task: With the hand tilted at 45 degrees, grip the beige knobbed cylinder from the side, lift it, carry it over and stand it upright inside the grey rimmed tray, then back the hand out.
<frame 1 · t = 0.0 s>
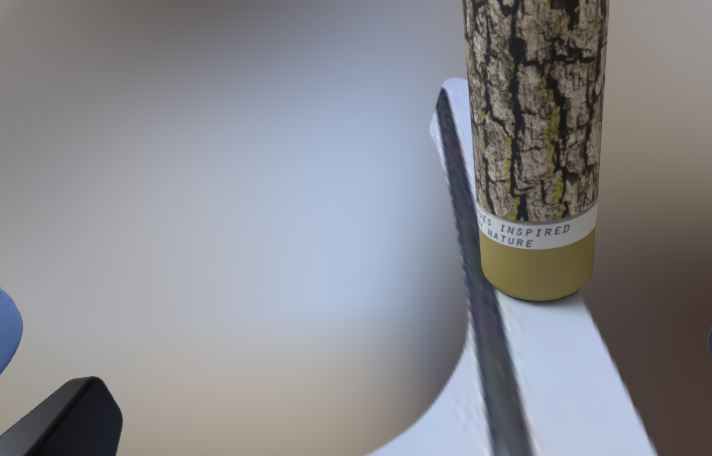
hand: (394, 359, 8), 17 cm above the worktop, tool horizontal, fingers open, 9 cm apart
paper tube: (535, 274, 35), on the worktop
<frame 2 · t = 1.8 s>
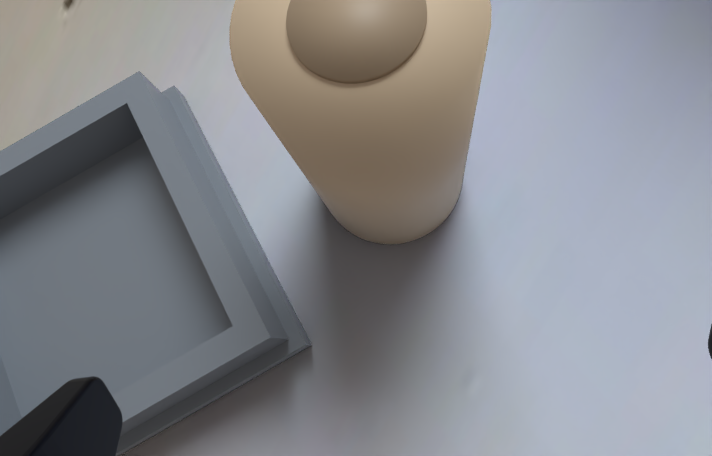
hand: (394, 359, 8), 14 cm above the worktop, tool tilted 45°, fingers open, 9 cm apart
beige knobbed cylinder: (390, 175, 23), on the worktop
grey rimmed tray: (113, 285, 23), on the worktop
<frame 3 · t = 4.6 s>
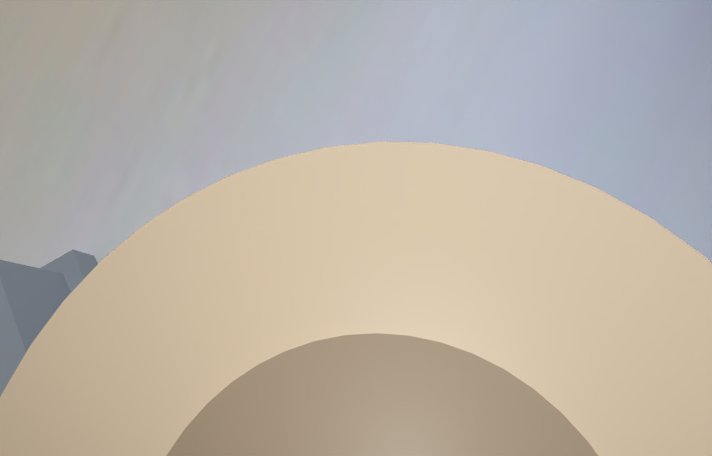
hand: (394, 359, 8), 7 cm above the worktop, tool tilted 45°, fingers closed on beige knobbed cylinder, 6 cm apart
beige knobbed cylinder: (418, 411, 14), on the worktop, touching gripper
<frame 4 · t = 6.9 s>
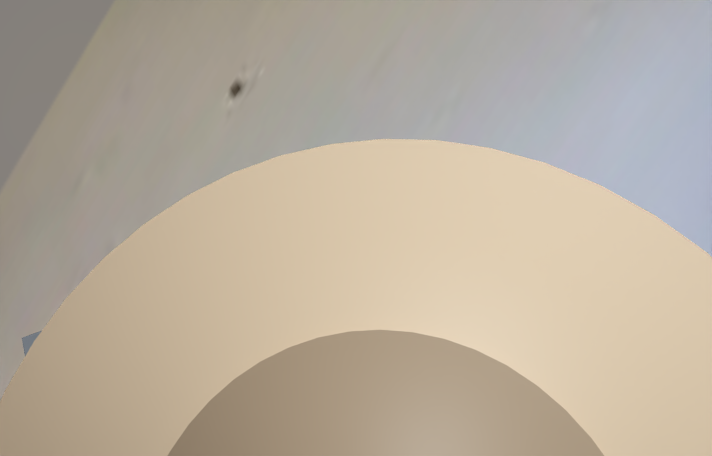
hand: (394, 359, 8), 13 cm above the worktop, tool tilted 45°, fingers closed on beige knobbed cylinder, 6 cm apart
beige knobbed cylinder: (418, 410, 14), point 7 cm above the worktop, touching gripper
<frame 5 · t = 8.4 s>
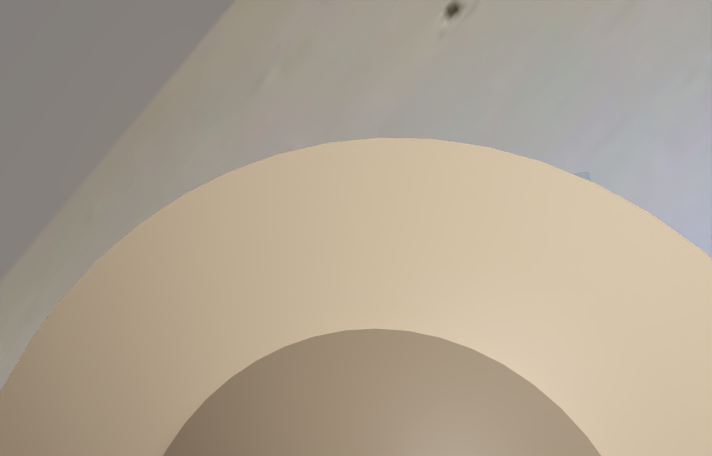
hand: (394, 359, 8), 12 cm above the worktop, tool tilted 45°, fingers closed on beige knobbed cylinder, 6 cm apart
beige knobbed cylinder: (417, 410, 14), point 5 cm above the worktop, touching gripper
when the fingers open (9 cm above the worktop, at t = 9.6 s): beige knobbed cylinder drops 1 cm, resting on grey rimmed tray.
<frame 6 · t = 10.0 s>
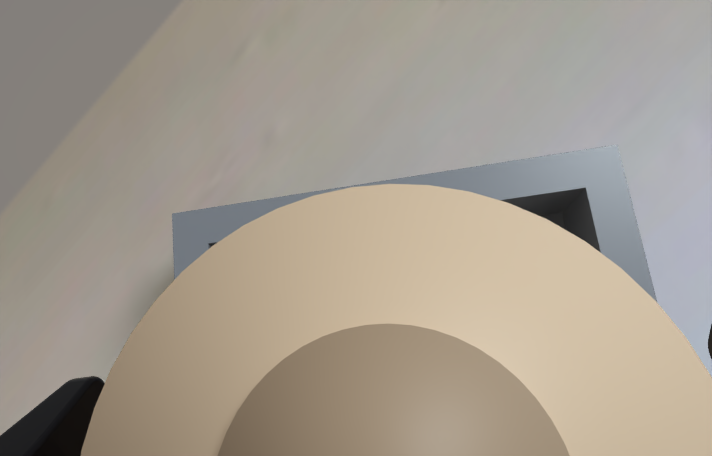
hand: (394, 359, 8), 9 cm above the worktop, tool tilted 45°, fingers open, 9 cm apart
beige knobbed cylinder: (418, 408, 15), point 1 cm above the worktop, touching grey rimmed tray
grey rimmed tray: (420, 402, 16), on the worktop
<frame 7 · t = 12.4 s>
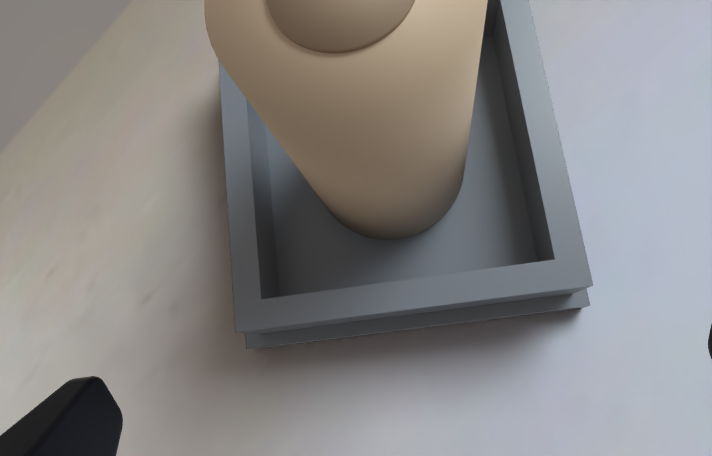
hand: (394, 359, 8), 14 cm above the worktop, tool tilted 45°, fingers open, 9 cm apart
beige knobbed cylinder: (388, 167, 22), point 1 cm above the worktop, touching grey rimmed tray
grey rimmed tray: (391, 174, 23), on the worktop
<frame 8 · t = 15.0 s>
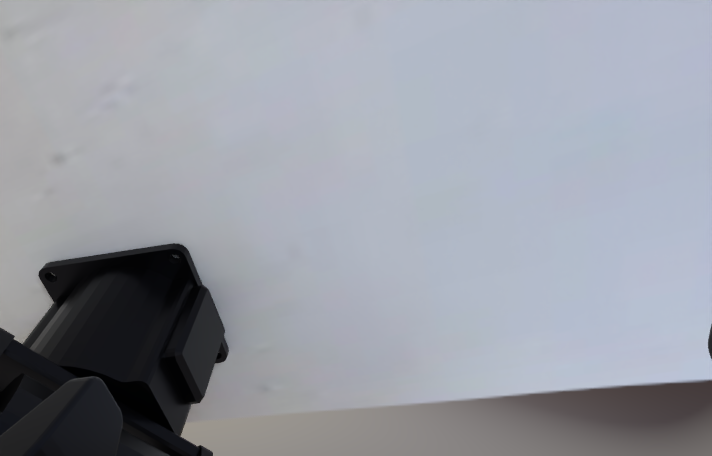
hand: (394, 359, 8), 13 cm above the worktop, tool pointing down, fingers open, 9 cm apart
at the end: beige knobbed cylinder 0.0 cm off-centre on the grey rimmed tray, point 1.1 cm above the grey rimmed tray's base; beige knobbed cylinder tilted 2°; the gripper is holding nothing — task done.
